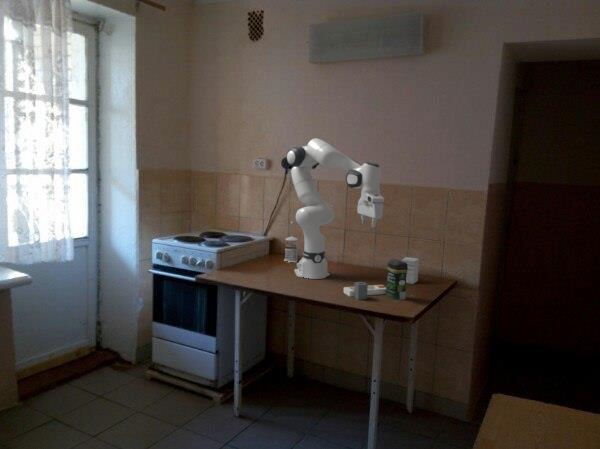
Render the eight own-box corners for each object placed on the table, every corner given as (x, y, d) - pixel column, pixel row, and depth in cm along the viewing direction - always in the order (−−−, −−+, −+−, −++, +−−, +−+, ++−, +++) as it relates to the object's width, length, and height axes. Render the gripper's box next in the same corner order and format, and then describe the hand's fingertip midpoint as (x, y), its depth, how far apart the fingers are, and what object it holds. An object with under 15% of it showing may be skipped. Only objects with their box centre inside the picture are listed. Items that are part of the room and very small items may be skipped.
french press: (292, 258, 312) (293, 219, 309) (304, 261, 304) (305, 222, 300) (280, 260, 306) (281, 220, 303) (291, 263, 297) (292, 223, 294)
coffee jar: (382, 296, 233) (384, 258, 230) (396, 295, 236) (398, 257, 234) (394, 302, 224) (396, 263, 222) (408, 300, 228) (411, 261, 225)
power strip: (343, 294, 235) (343, 285, 234) (380, 291, 241) (380, 283, 241) (349, 298, 228) (349, 289, 228) (387, 295, 235) (387, 287, 234)
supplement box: (404, 279, 268) (406, 256, 266) (417, 281, 264) (419, 258, 262) (400, 281, 262) (401, 258, 260) (413, 284, 258) (415, 260, 256)
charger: (353, 299, 228) (354, 282, 227) (362, 298, 229) (363, 281, 228) (358, 301, 224) (358, 284, 222) (366, 301, 225) (367, 284, 224)
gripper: (355, 194, 241) (353, 222, 243) (373, 199, 222) (372, 229, 224) (366, 194, 243) (364, 222, 245) (386, 199, 224) (384, 228, 226)
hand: (368, 225), depth 234 cm, fingers open, 8 cm apart
